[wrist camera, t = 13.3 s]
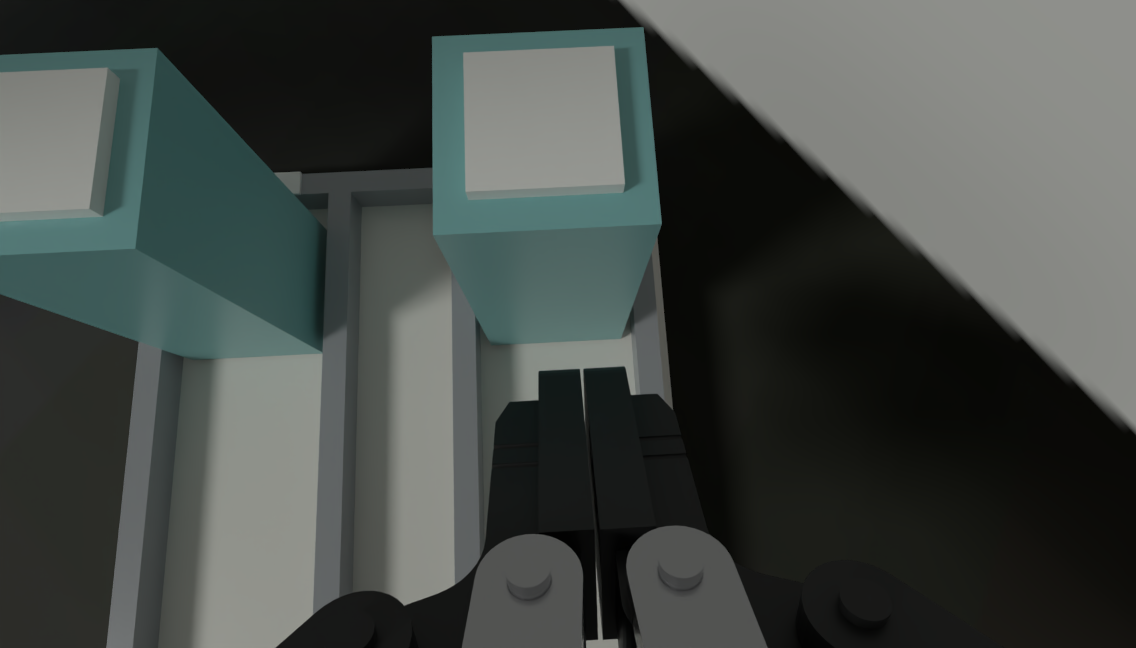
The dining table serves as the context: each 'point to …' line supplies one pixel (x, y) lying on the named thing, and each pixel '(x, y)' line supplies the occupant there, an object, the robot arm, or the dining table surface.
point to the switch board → (336, 438)
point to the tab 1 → (150, 211)
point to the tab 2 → (545, 179)
